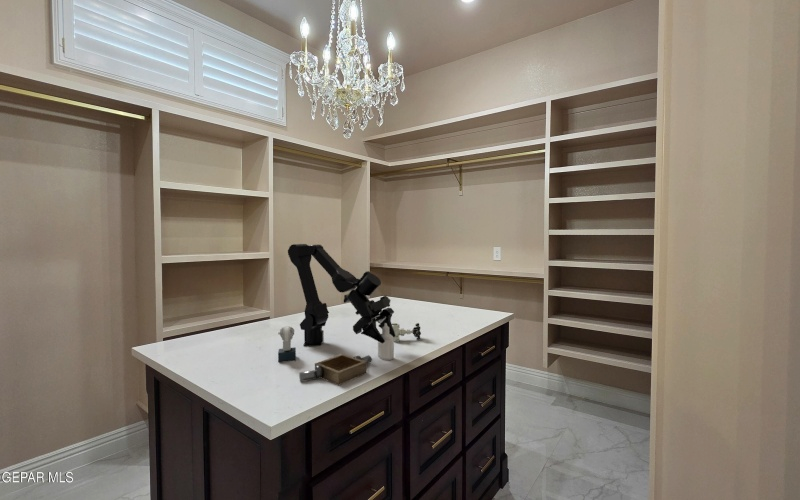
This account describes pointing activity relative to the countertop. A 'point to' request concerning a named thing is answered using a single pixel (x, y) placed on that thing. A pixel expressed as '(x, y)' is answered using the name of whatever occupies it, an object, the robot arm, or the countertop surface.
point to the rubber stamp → (286, 345)
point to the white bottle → (386, 345)
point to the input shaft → (365, 358)
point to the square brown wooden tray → (342, 368)
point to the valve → (401, 331)
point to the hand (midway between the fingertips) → (389, 339)
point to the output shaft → (311, 374)
